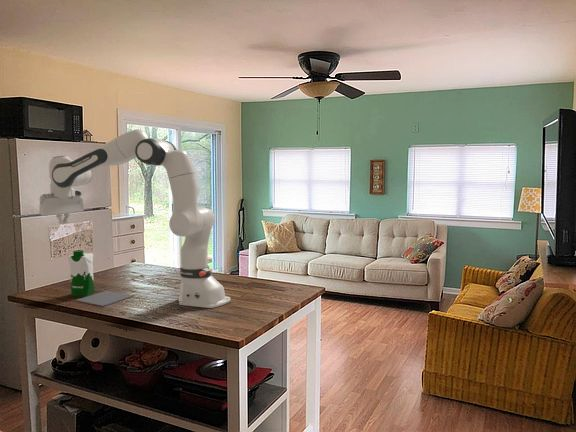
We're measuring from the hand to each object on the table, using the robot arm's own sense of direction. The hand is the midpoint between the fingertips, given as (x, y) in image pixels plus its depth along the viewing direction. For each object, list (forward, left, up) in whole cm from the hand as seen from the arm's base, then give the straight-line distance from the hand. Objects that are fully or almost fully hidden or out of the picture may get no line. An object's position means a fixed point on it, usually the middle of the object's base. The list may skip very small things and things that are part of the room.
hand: (63, 223), depth 213 cm
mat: (-25, 0, -31) cm, 40 cm away
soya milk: (-11, 0, -31) cm, 33 cm away
